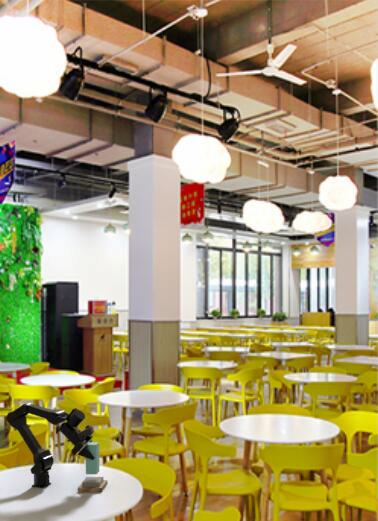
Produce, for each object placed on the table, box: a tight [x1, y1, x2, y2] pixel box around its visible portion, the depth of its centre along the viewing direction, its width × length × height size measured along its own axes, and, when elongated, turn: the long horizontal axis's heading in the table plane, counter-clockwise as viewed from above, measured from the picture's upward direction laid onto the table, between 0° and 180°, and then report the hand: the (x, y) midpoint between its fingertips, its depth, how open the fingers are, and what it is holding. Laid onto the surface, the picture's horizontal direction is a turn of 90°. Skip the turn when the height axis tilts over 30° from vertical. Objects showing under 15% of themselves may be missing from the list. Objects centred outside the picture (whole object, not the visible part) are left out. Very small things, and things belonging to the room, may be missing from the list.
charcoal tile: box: [81, 476, 104, 487], centre depth 263 cm, size 8×8×2 cm
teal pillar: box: [85, 441, 100, 475], centre depth 264 cm, size 5×5×13 cm
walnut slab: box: [77, 479, 109, 493], centre depth 263 cm, size 11×11×2 cm
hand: (95, 457), depth 264 cm, fingers closed on teal pillar, 5 cm apart
